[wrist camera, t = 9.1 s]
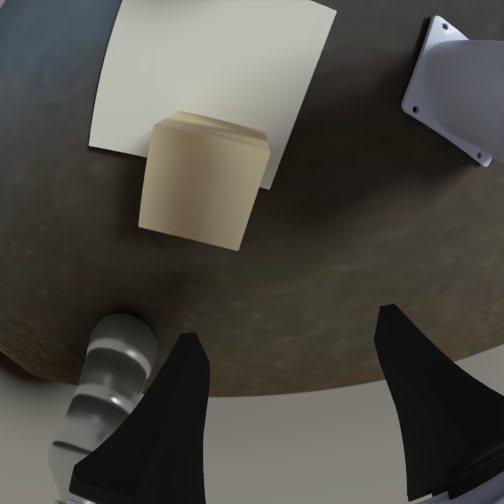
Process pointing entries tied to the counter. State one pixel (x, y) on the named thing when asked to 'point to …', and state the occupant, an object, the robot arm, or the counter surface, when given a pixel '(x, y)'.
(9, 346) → the counter surface
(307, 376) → the counter surface
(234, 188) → the cube
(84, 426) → the plastic bottle
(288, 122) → the plate
